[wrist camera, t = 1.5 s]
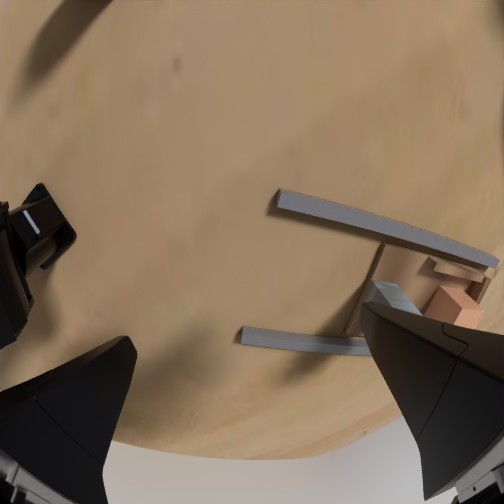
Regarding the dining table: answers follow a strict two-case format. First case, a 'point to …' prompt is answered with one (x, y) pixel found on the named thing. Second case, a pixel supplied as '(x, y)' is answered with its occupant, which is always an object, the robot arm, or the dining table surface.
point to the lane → (365, 221)
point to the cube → (454, 308)
